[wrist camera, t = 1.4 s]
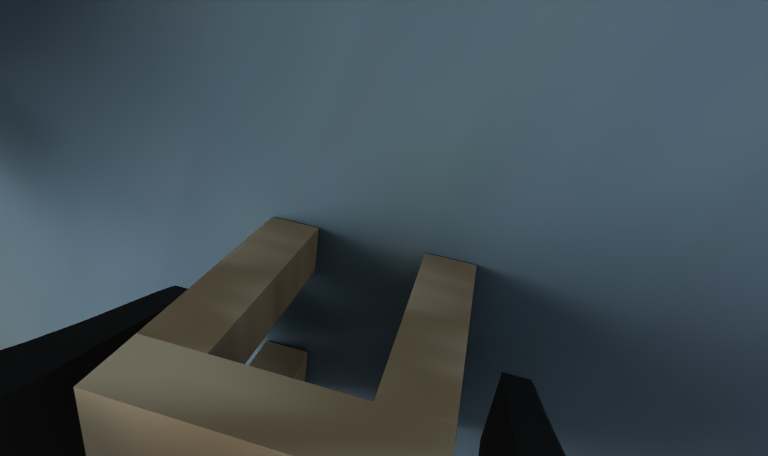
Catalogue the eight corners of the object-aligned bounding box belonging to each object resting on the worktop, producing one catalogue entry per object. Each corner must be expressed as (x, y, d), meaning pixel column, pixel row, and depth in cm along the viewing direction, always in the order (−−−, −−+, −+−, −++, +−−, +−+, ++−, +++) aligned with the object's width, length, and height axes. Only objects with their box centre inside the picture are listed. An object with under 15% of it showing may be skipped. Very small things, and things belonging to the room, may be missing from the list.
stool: (476, 264, 11) (447, 504, 6) (435, 423, 13) (386, 704, 8) (272, 216, 12) (73, 387, 6) (265, 373, 14) (112, 599, 8)
